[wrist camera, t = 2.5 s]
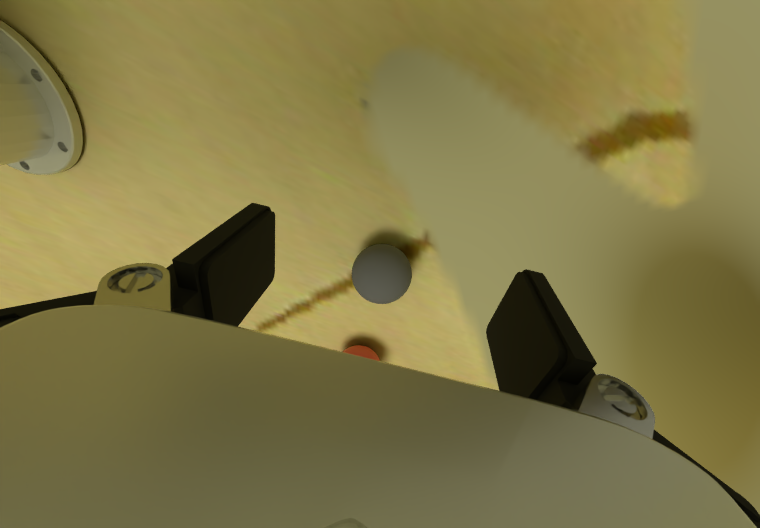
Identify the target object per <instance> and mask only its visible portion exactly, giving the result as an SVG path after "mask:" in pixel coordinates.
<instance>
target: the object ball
mask: <svg viewBox="0 0 760 528" xmlns="http://www.w3.org/2000/svg"><path fill="white" fill-rule="evenodd" d="M343 352H345V353H349V354H353V355H357V356H361V357H365V358H369V359H373V360H377V361H380V360H379V357H378V356H377V354H376V353H375V352H374V351H373V350H372V349H370V348H368V347H366V346H362V345H355V346H351V347H349V348H347V349H345V350H344V351H343Z"/></svg>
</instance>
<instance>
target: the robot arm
mask: <svg viewBox="0 0 760 528" xmlns="http://www.w3.org/2000/svg"><path fill="white" fill-rule="evenodd" d="M82 145H83V137H82V127H81V123H80V119H79V115H78V113H77V110H76V108H75V105H74V103H73V100H72V99H71V97H70V95H69V93H68V91H67V89H66V88H65V86H64V84H63V83H62V81H61V80H60V78H59V77H58V75H57V74H56V72H55V71H54V70H53V68H52V67H51V66H50V65H49V63H48V62H47V61H46V60H45V59H44V58H43V56H42V55H41V54H40V53H39V52H38V51H37V50H36V49H35V48H34V47H33V46H32V45H31V44H30V43H29V42H28V41H27V40H26V39H25V38H24V37H23V36H21V35H20V34H19V33H17V32H16V31H15V30H13V29H12V28H11V27H10V26H8V25H7V24H6V23H4V22H2V21H1V20H0V166H1V165H5V164H7V165H9V166H11V167H13V168H15V169H18V170H21V171H23V172H26V173H31V174H36V175H51V174H55V173H59V172H63V171H65V170H67V169H70V168H71V167H72V166H73V165H74V164H75V163H76V162H77V161H78V159H79V157H80V155H81V151H82ZM172 261H173V264H171V265H170V266H169V267H167V268H165V267H163V266H161V265H158V264H152V263H137V264H131V265H126V266H123V267H120V268H117V269H115V270H113V271H111V272H109V273H107V274H106V275H105V276H104V277H102V279H101V281H100V282H99V285H98V289H97V291H94V292H89V293H84V294H78V295H73V296H68V297H63V298H57V299H52V300H47V301H42V302H36V303H31V304H26V305H21V306H15V307H10V308H5V309H0V528H760V515H759V514H758V512H757V511H756V510H755V508H754V507H753V506H752V505H751V504H750V503H749V502H748V501H747V500H746V499H745V498H743V497H742V496H741V495H740V494H738V493H737V492H735V491H734V490H733V489H731V488H730V487H729V486H727V485H726V484H725V483H723V482H722V481H721V480H720V479H718V478H717V477H715V476H714V475H713V474H712V473H710V472H709V471H708V470H706V469H705V468H704V467H702V466H701V465H700V464H698V463H697V462H696V461H694V460H693V459H692V458H691V457H689V456H688V455H687V454H685V453H684V452H683V451H681V450H680V449H679V448H678V447H676V446H675V445H674V444H672V443H671V442H670V441H668V440H667V439H666V438H664V437H663V436H662V435H660V434H659V433H658V432H656V431H655V430H654V424H655V417H654V413H653V411H652V409H651V407H650V405H649V404H648V403H647V402H646V400H645V399H644V398H643V397H642V396H641V395H640V394H639V393H638V392H637V391H636V390H635V389H633V388H632V387H631V386H629V385H628V384H627V383H625V382H623V381H621V380H620V379H618V378H615V377H613V376H610V375H605V374H598V375H596V374H595V372H594V370H593V369H592V368H593V367H594V366H595V365H596V364H597V363H596V361H595V359H594V358H593V356H592V355H591V353H590V351H589V349H588V348H587V346H586V344H585V343H584V341H583V339H582V338H581V336H580V334H579V333H578V331H577V329H576V328H575V326H574V324H573V323H572V321H571V320H570V318H569V316H568V314H567V313H566V311H565V309H564V308H563V306H562V304H561V303H560V301H559V299H558V298H557V296H556V294H555V293H554V291H553V289H552V288H551V286H550V284H549V282H548V281H547V279H546V277H545V276H544V275H543V273H539V272H534V271H530V270H524V271H523V272H518V273H517V274H516V275H515V277H514V279H513V281H512V283H511V284H510V286H509V288H508V290H507V292H506V293H505V295H504V297H503V299H502V301H501V302H500V304H499V306H498V308H497V310H496V311H495V313H494V315H493V317H492V319H491V321H490V322H489V324H488V326H487V331H486V334H487V339H488V343H489V347H490V352H491V356H492V361H493V365H494V369H495V373H496V378H497V382H498V386H499V391H498V390H494V389H490V388H486V387H482V386H478V385H474V384H470V383H466V382H462V381H458V380H454V379H450V378H446V377H442V376H438V375H434V374H430V373H426V372H422V371H418V370H414V369H410V368H406V367H401V366H397V365H393V364H389V363H385V362H381V361H377V360H373V359H369V358H365V357H361V356H357V355H353V354H349V353H345V352H340V351H336V350H332V349H328V348H324V347H320V346H316V345H312V344H308V343H303V342H299V341H295V340H291V339H287V338H283V337H279V336H274V335H270V334H266V333H262V332H258V331H254V330H249V329H245V328H241V327H238V325H239V324H240V323H241V322H242V320H243V319H244V318H245V316H246V315H247V314H248V312H249V311H250V310H251V308H252V307H253V306H254V305H255V303H256V302H257V301H258V299H259V298H260V297H261V295H262V294H263V293H264V291H265V290H266V289H267V288H268V286H269V285H270V284H271V282H272V281H273V278H274V274H275V213H274V212H272V211H271V209H270V207H268V206H264V205H260V204H256V203H251V204H250V205H248V206H247V207H245V208H244V209H243V210H241V211H240V212H238V213H237V214H236V215H234V216H233V217H231V218H230V219H229V220H227V221H226V222H224V223H223V224H221V225H220V226H219V227H217V228H216V229H214V230H213V231H212V232H210V233H209V234H207V235H206V236H205V237H203V238H202V239H200V240H199V241H197V242H196V243H195V244H193V245H192V246H190V247H189V248H188V249H186V250H185V251H183V252H182V253H181V254H179V255H178V256H176V257H175V258H173V259H172Z"/></svg>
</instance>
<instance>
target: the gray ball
mask: <svg viewBox="0 0 760 528" xmlns="http://www.w3.org/2000/svg"><path fill="white" fill-rule="evenodd" d="M411 278H412V271H411V266H410V263H409V260H408V259H407V257H406V256H405V254H404V253H403V252H402V251H400V250H399V249H398V248H396V247H394V246H391V245H387V244H376V245H372V246H370V247H368V248H366V249H364V250H363V251H362V252H361V253H360V254H359V255H358V256H357V258H356V260H355V262H354V264H353V268H352V280H353V284H354V286H355V288H356V290H357V291H358V293H359V294H360V295H361V296H362V297H363V298H365V299H366V300H368V301H370V302H373V303H377V304H387V303H391V302H393V301H396V300H397V299H399V298H400V297H401V296H403V295H404V293H405V292H406V291H407V289H408V287H409V285H410V282H411Z"/></svg>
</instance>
